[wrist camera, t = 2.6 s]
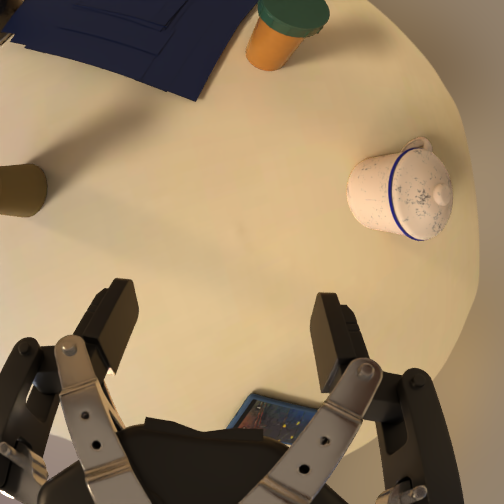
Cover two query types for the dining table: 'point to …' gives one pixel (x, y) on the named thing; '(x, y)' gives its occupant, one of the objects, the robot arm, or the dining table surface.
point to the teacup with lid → (402, 192)
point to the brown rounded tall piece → (22, 190)
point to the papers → (134, 36)
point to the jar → (270, 47)
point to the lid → (294, 16)
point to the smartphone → (273, 418)
